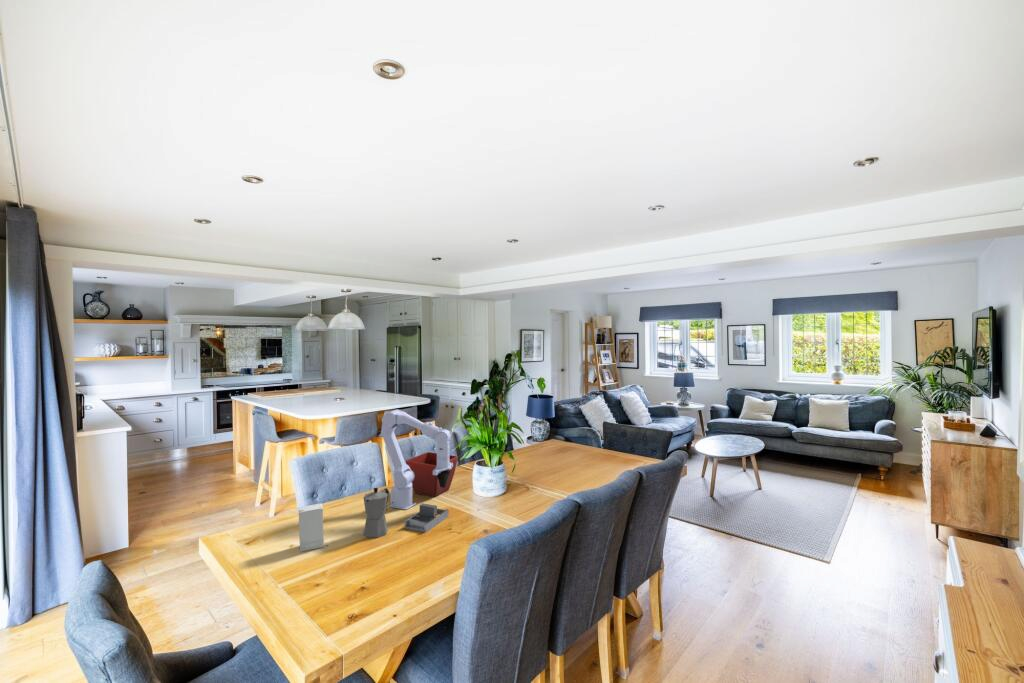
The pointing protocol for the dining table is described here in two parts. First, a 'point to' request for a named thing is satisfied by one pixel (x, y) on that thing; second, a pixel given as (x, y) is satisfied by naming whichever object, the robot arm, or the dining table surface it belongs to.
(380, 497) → the coffeepot
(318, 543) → the skincare box
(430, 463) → the plant pot
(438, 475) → the robot arm
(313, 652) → the dining table surface
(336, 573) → the dining table surface
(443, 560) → the dining table surface
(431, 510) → the block
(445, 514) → the rack
